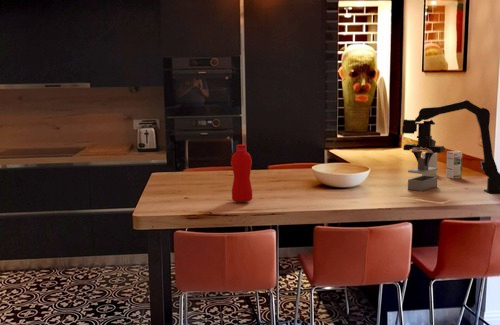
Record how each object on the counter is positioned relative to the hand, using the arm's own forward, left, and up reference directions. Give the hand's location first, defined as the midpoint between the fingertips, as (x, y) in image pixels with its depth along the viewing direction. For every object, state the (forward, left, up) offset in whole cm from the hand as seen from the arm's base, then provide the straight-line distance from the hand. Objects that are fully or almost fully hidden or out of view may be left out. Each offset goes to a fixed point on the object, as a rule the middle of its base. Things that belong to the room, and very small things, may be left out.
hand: (423, 165), depth 251 cm
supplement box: (+38, -16, -11) cm, 43 cm away
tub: (0, 0, -11) cm, 11 cm away
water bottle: (-20, +88, -11) cm, 91 cm away
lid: (0, 0, -3) cm, 3 cm away
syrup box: (+28, -26, -11) cm, 40 cm away
